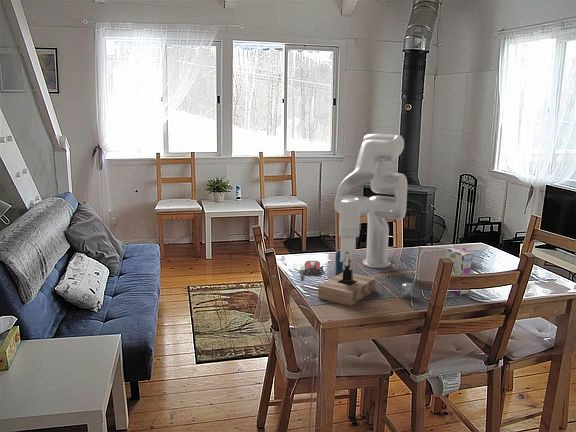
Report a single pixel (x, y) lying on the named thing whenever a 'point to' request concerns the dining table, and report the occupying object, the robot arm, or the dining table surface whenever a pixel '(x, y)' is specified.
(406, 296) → the short pin
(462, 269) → the candy bar box
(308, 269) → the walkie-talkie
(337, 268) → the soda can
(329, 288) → the hole block
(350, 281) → the tall pin
